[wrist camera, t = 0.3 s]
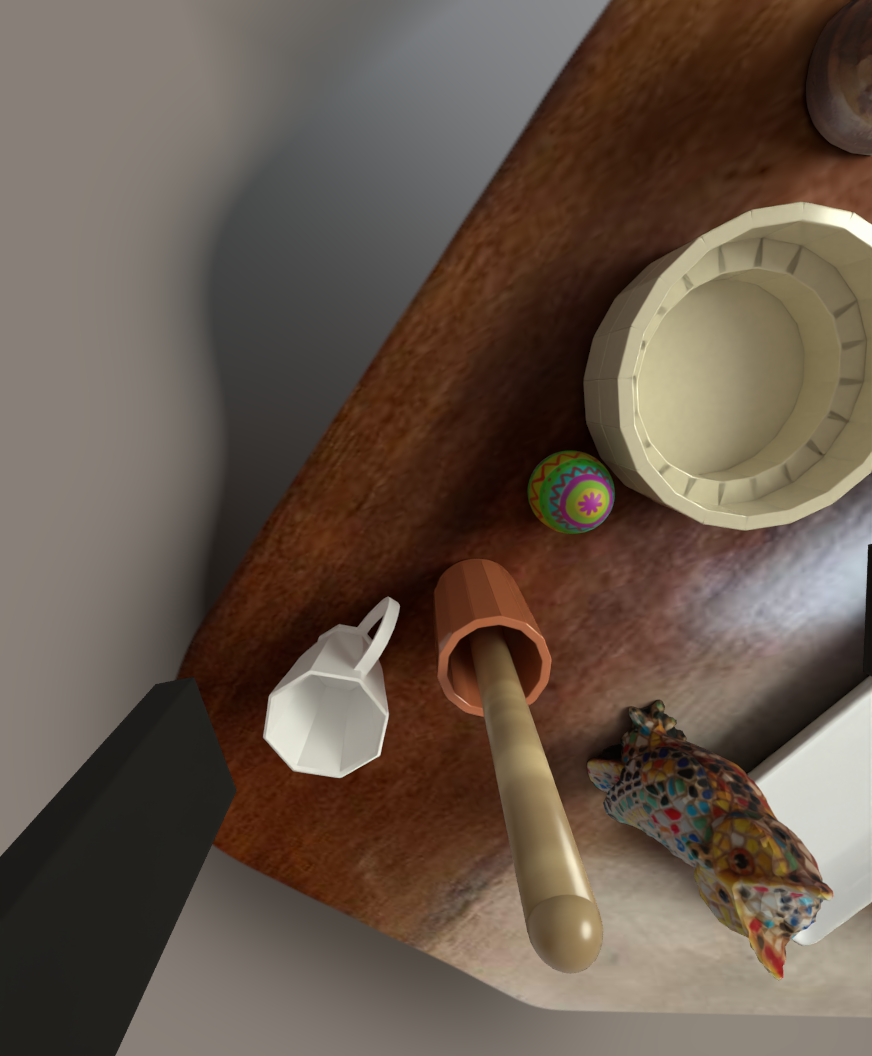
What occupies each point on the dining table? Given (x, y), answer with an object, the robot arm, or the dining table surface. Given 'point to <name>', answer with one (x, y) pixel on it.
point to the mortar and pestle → (843, 79)
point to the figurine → (713, 831)
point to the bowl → (742, 370)
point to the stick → (535, 817)
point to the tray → (829, 803)
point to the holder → (479, 601)
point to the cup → (334, 699)
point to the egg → (571, 492)
